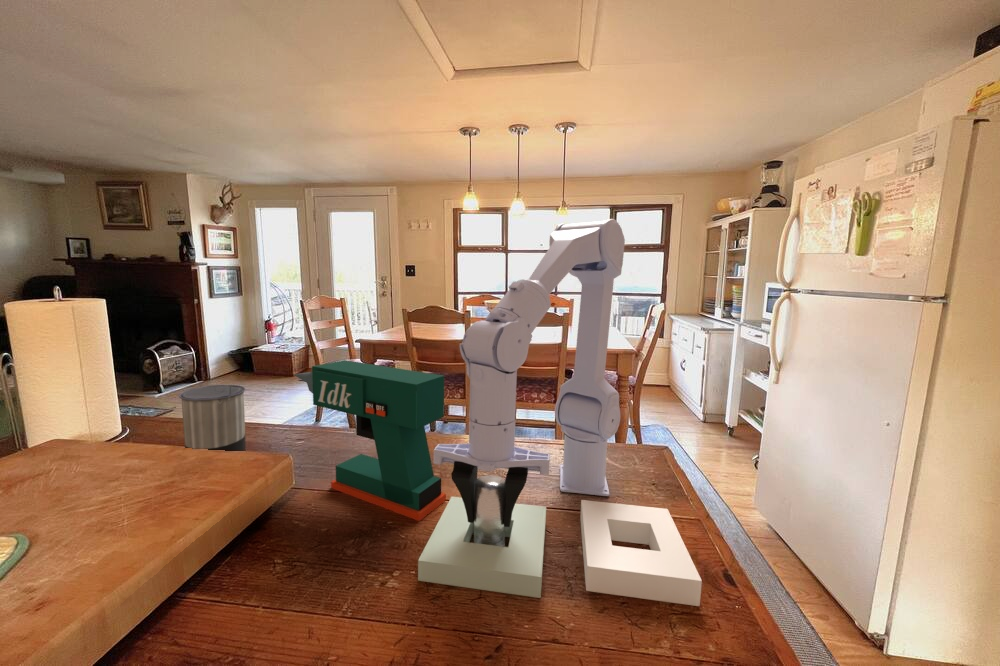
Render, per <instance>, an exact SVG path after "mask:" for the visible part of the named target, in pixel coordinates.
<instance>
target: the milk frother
mask: <svg viewBox="0 0 1000 666" xmlns="http://www.w3.org/2000/svg"><path fill="white" fill-rule="evenodd" d="M244 392H246V387H244V386H242V385H238V384H215V385H213V384H211V385H205V386H200V387H194V388H191V389H186V390H185V391H182V392H181V393H179V395H178V398H179V399H181V412H182V414H181V415H182V425H183V438H184V449H185V448H192V449H208V450H225V451H246V452H247V447H246V418H245V397H244Z"/></svg>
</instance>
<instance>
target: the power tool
mask: <svg viewBox="0 0 1000 666" xmlns="http://www.w3.org/2000/svg"><path fill="white" fill-rule="evenodd" d="M292 375H293V376H294V377H297V378H298V379H300V380H301V381H303V382H305V383H306V385H307V389H308V391H309V392H310V393H311V394H312V403H313V404H312V405H313V406H316V407H321V408H325V409H329V410H333V411H338V412H341V413H345V414H346V413H347V414H348V415H349V414H350V415H355V416H356V417H355V418H356V419H355V421H356V424H355V427H356V428H355V429H356V436H359V437H362V438H366V439H368V440H369V439H370V440H373V441H374V443H375V448H376V455H377V458H376V457H373V456H370V455H366V454H363V453H360V454H357V455H355V456H353V457H352V458H349V459H347V460H345V461H342V462H341V463H338V464H336V465H335V479H334V480H332V481H331V482H330V489H332V490H335V491H338V492H341V493H343V494H346V495H348V496H351V497H354V498H356V499H359V500H362V501H363V502H364V501H365V502H367V503H369V504H372V503H373V504H372V505H375V504H376V506H378V505H379V506H378V507H380V506H381V507H380V508H383V507H384V508H383V509H386V510H388V509H389V510H388V511H391V512H394V513H396V514H399V515H402V516H404V517H407V518H410V519H413V520H415V521H418V522H420V521H422V520H423V519H424V518H425V517H426V516H428V515H429V514H430V513H432V512H433V511H434V510H436V509H437V508H438V507H439V506H440V505H442V504H443V503H444V502H445V501H447V493H444V492H442V477H439V476H435V474H434V470H433V464H432V463H433V462H432V458H431V454H430V448H429V443H428V438H427V434H426V427H425V426H427V425H430V424H432V423H433V422H436V421H438V420H440V419H442V418H444V417H445V375H443V374H437V373H430V372H422V371H417V370H410V369H405V368H404V369H403V368H398V367H391V366H384V365H380V364H379V365H378V364H372V363H366V362H359V361H352V360H347V359H344V360H343V359H342V360H338V361H337V360H336V361H332V362H327V363H323V364H322V363H321V364H317V365H312V366H311V371H309V372H303V373H301V372H299V373H294V374H292ZM436 507H437V508H436ZM431 511H432V512H431ZM427 514H428V515H427Z"/></svg>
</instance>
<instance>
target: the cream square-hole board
mask: <svg viewBox="0 0 1000 666" xmlns="http://www.w3.org/2000/svg"><path fill="white" fill-rule="evenodd" d="M579 519H580V529H581V530H580V531H581V543H582V545H581V546H582V554H583V555H582V556H583V567H584V570H583V571H584V582H585V591H586V592H591V593H592V592H593V593H598V594H599V593H600V594H607V595H608V594H609V595H614V596H621V597H622V596H623V597H630V598H637V599H644V600H650V601H656V602H657V601H658V602H663V603H671V604H672V603H673V604H681V605H687V606H694V607H695V606H696V607H700V605H701V596H702V595H701V594H702V584H703V581H702V578H701V576H700V574H699V572H698V569H697V568H696V566H695V563H694V562H693V560H692V557H691V554H690V553H689V551H688V549H687V546H686V545H685V543H684V540H683V538H682V536H681V534H680V532H679V530H678V528H677V525H676V523H675V522H674V519H673V517H672V516H671V514H670V511H669V509H668V508H661V507H652V506H644V505H634V504H624V503H615V502H606V501H597V500H587V499H586V500H585V499H581V501H580V518H579ZM612 541H613V542H615V541H616V542H621V543H622V542H624V543H631V544H640V545H641V544H642V545H647V546H649V548H650V549H645V548H643V549H642V548H637V547H636V548H635V547H627V546H620V545H613V543H612Z"/></svg>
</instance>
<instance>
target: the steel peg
mask: <svg viewBox="0 0 1000 666" xmlns="http://www.w3.org/2000/svg"><path fill="white" fill-rule="evenodd" d="M505 479H506V478H503V477H502V476H498V475H495V474H492V475H491V474H490V475H482V476H480V477H477V480H476V481H475V508H474V533H473V543H478V544H486V545H494V546H502V547H506V537H505V527H504V515H505V506H506V491H505Z"/></svg>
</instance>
